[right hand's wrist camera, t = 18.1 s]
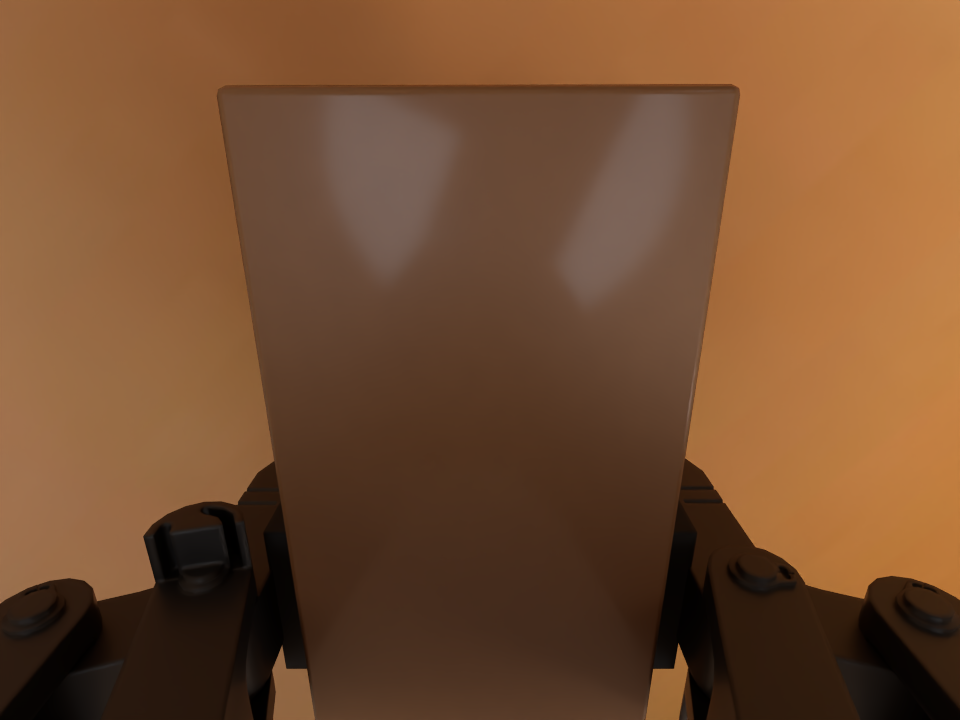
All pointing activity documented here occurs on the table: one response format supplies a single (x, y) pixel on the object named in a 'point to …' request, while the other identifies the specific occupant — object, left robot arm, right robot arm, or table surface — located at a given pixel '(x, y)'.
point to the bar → (479, 378)
